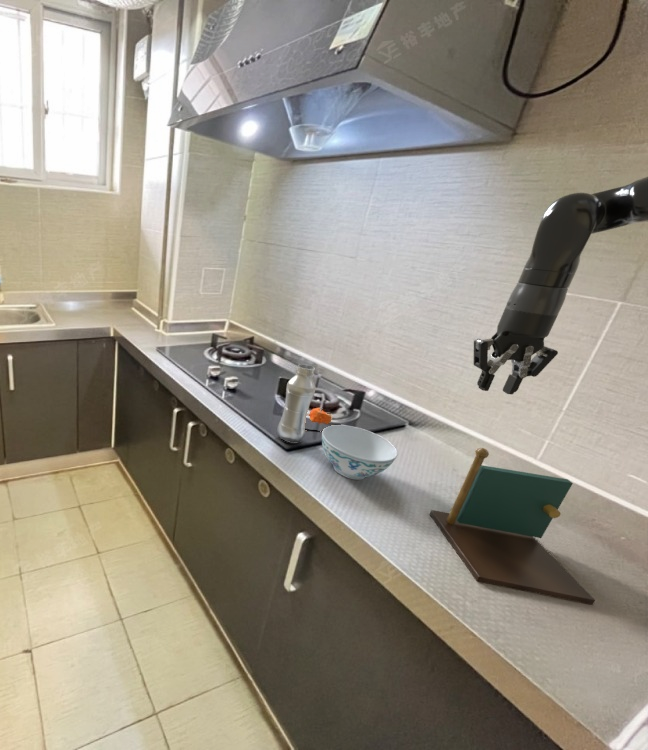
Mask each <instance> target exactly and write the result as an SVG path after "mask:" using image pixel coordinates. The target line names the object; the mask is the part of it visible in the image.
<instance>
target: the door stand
mask: <svg viewBox="0 0 648 750" xmlns="http://www.w3.org/2000/svg"><path fill="white" fill-rule="evenodd" d="M474 454H475V457H474V459H473V460H472V463H471V465H470V468H469V469H468V471H467V474H466V476H465V479H464V481H463V483H462V485H461V488H460V489H459V492H458V494H457V496H456V498H455V501H454V503H453V506H452V507H451V509H450V512H446V511H440V510H435V509H430V511H429V516H430V517H431V518H432V520H433V521H434V523H435V524H436V526H437V527H438V528H439V530H440V531H441V532H442V534H443V535H444V537H445V538H446V540H447V542H448V543H449V544H450V545H451V547H452V549H454V551H455V553H456V554H457V555H458V557H459V558H460V560H461V561H462V562H463V564H464V565H465V567H466V568H467V569H468V572H469V573H470V574H471V575H472V577H473V578H474V580H475V581H476V582H479V583H484V584H490V585H494V586H499V587H504V588H507V589H513V590H519V591H522V592H529V593H533V594H538V595H543V596H548V597H552V598H556V599H557V598H558V599H561V600H562V599H563V600H566V601H572V602H576V603H581V604H582V603H583V604H587V605H591V606H593V605H594V603H595V602H596V599H595V598H594V597H593V596H592V595H591V594H590V593H589V591H587V590H586V589H585V588H584V587H583V586H582V585H581V583H579V581H577V580H576V579H575V578H574V576H572V575H571V573H570V572H568V570H566V569H565V568H564V567H563V565H561V564H560V562H558V560H556V558H555V557H553V555H552V554H551V553H550V552H548V550H547V549H546V548H545V547H544V546H543V545H542V544H541V543H540V542H539V541H538V540H537V539H536V537H532V536H527V535H521V534H516V533H510V532H505V531H500V530H494V529H489V528H483V527H478V526H473V525H467V524H462V523H459V522H458V521H457V520H456V519H457V517H458V514H459V512H460V510H461V508H462V506H463V504H464V502H465V499H466V497H467V495H468V493H469V491H470V489H471V487H472V484H473V482H474V480H475V478H476V476H477V474H478V471H479V469H480V467H481V465H483V463H484V460H485V459H487V458H488V457H489V456H490V452H489V450H487V448H484V447H478V448H476V449H475V451H474Z"/></svg>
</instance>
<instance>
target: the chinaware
mask: <svg viewBox="0 0 648 750" xmlns="http://www.w3.org/2000/svg"><path fill="white" fill-rule="evenodd" d="M321 445H322V449H323V452H324V454H325V456H326V458H327V460H328V461H329V462H330V463H331V465H332V466H333V470H334V471H335V472H337V473H338V474H339V475H341V476H342V477H344V478H347V479H350V480H364V479H365V478H366V477H372V476H375V475H378V474H381V473H383V472H384V471H385V470H387V469H388V468H389V467H390V466H391V465H392V464H393V463H394V461H395V460H396V459H397V456H398V450H397V448H396V447H395V445H393V444H392V442H390V441H389V440H388V439H386V438H385V437H383V436H381V435H379V434H377V433H375V432H372V431H370V430H367V429H364V428H361V427H358V426H352V425H346V424H341V425H331V426H328V427H326V428H324V429H323V431H322V432H321Z"/></svg>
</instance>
